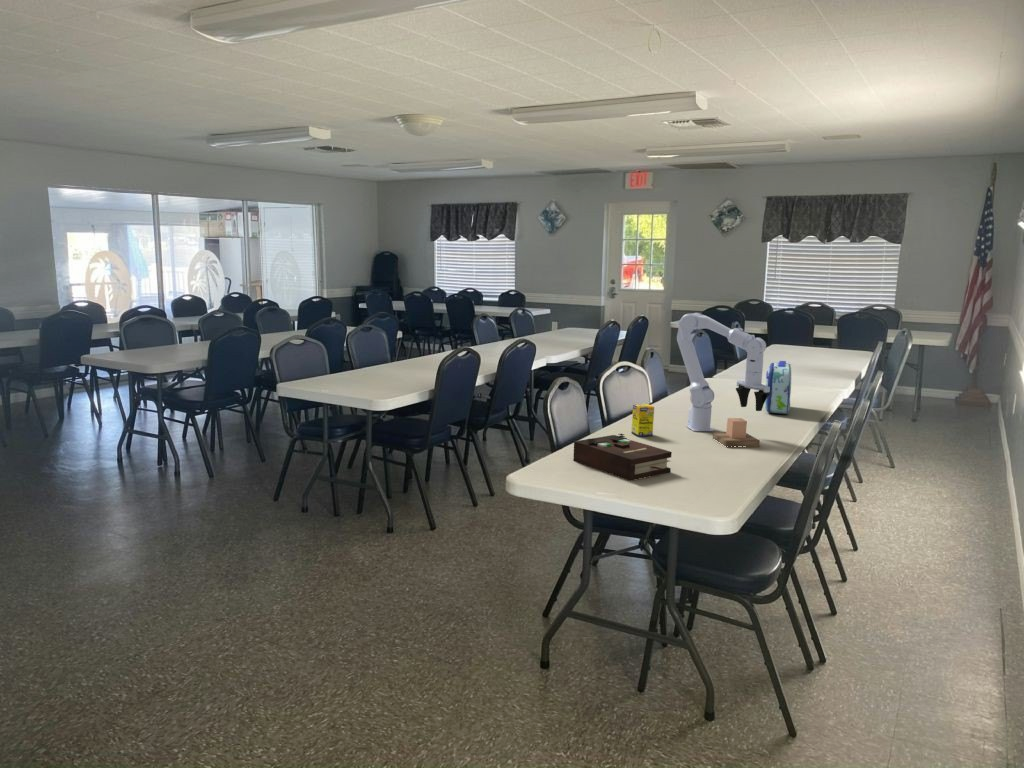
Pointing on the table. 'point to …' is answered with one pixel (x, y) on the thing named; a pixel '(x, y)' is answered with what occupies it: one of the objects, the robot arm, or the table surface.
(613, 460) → the decorative book
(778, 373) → the lunch box
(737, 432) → the terracotta block
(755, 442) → the walnut block
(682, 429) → the table surface
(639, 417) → the supplement box
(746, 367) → the robot arm
